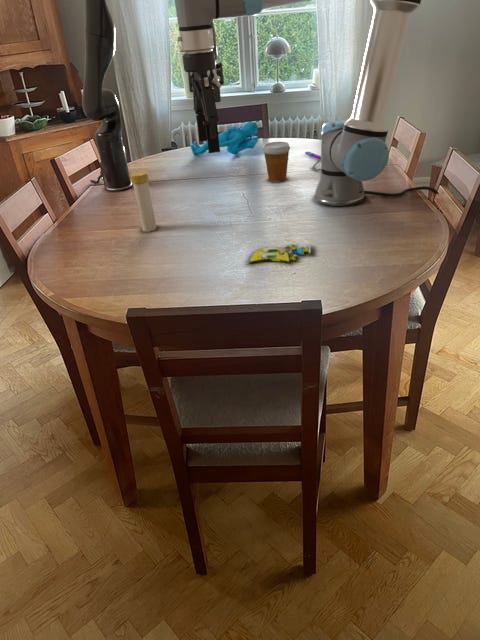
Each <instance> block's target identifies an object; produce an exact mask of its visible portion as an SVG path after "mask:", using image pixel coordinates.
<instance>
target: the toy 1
mask: <svg viewBox="0 0 480 640" xmlns="http://www.w3.org/2000/svg"><path fill="white" fill-rule="evenodd" d="M258 130H259V128H258V124H257V122H255V121H248V122H246V123H244V124H243V126H230V127H229V128H228V129H227V130H224V131H222V132H220V133H218V137H219V146H220V148H225V147H227V148H226V151H227V152H228V153H230V154H232V155H237V154H238V153H239V152H242V151H244V150H249V149H252V150H253V149H254V148H255V147H256V145H257V143H258V142H259V140H260V137H259V135H257V134H258V132H259V131H258ZM190 149H191V152H192V155H193V156H194V157H196V156H199V155H203V154H205V153H206V152H207V151H208V143H207V141H205V142H204V143H203V144H202V145H200V144H199V143H198V141H193V143H191V144H190Z"/></svg>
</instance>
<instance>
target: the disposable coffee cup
mask: <svg viewBox="0 0 480 640" xmlns="http://www.w3.org/2000/svg"><path fill="white" fill-rule="evenodd" d="M290 149H291V146H290V144H289V142H286V141H272V142H266V143H265V144H263V148H262V151H263V153H264V159H265V165H266V171H267V178H268V182H272V183H273V182H274V183H278V182H279V183H280V182H283V181H286V180H287V174H288V165H289V155H290V154H289V153H290Z"/></svg>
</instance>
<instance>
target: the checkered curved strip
mask: <svg viewBox="0 0 480 640" xmlns="http://www.w3.org/2000/svg"><path fill="white" fill-rule="evenodd" d="M304 154H305V155H307V156H309V157H312V158H315V159H318V160H317V161H316V162H315V163H314V164H313V165H312V170H314V171H321V168H316V165H318V163H320V162H321V155H319V154H315V153H314V152H311V151H304Z"/></svg>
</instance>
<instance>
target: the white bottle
mask: <svg viewBox="0 0 480 640" xmlns="http://www.w3.org/2000/svg"><path fill="white" fill-rule="evenodd" d="M132 187H133V191H134V197H135V201H136V206H137V211H138V216H139V221H140V226H141V230H142V231H143V232H144V233H145V232H146V233H149V232H150V233H151V232H153V231H155V230H157V223H156V218H155V213H154V207H153V202H152V196H151V191H150V185H149V181H147V182H145V183H140V184H134V183H132Z"/></svg>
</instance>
